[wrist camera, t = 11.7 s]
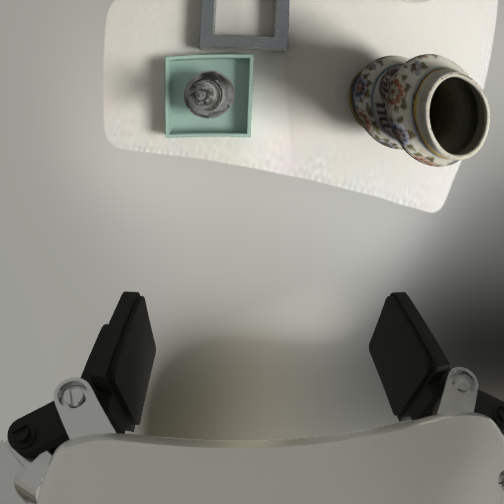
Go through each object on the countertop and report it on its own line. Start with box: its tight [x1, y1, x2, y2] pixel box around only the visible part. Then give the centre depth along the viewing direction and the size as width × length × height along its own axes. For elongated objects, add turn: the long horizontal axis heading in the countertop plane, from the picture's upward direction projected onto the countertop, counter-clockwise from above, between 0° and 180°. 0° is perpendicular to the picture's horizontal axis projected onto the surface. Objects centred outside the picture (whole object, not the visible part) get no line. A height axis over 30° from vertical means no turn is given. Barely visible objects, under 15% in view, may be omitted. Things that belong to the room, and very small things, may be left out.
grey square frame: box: [200, 0, 289, 52], centre depth 29 cm, size 10×10×2 cm
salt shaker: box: [184, 70, 235, 119], centre depth 29 cm, size 6×6×12 cm
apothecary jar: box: [349, 54, 490, 167], centre depth 28 cm, size 12×12×18 cm
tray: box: [165, 54, 254, 138], centre depth 34 cm, size 10×10×3 cm
